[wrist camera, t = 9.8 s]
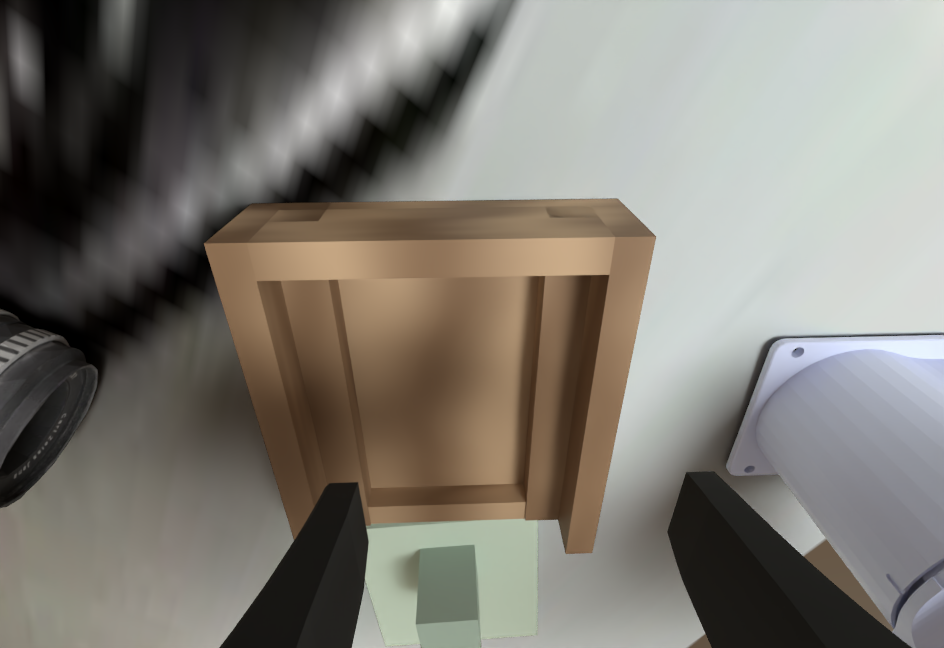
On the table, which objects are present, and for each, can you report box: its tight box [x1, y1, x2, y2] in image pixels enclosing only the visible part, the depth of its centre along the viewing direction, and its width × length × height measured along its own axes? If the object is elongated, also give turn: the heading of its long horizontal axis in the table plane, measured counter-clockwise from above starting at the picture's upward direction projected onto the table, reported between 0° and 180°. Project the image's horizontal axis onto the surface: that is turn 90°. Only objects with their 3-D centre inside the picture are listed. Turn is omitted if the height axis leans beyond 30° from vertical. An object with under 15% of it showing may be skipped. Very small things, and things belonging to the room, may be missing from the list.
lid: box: [365, 519, 538, 648], centre depth 27 cm, size 10×12×5 cm
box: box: [204, 199, 656, 554], centre depth 19 cm, size 13×15×4 cm
